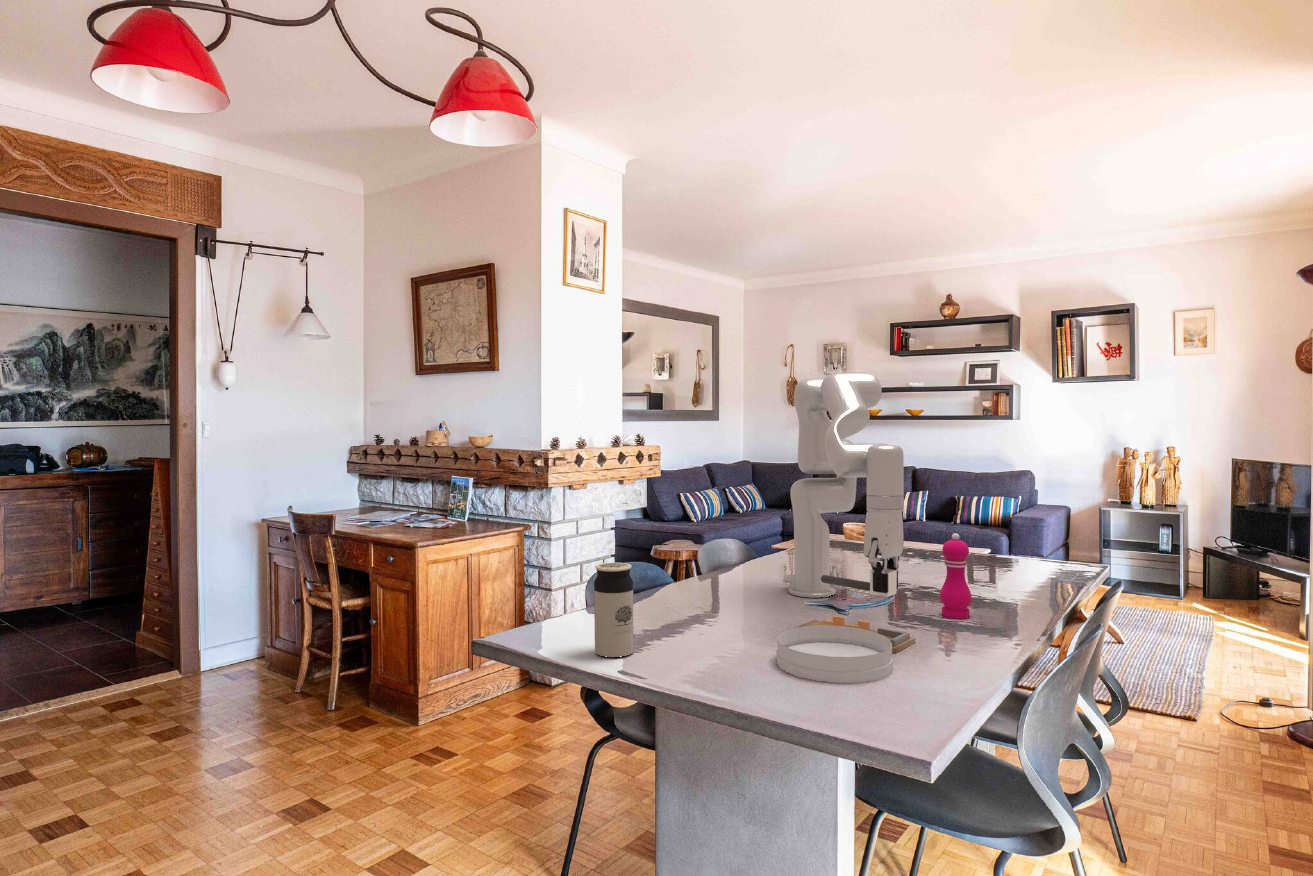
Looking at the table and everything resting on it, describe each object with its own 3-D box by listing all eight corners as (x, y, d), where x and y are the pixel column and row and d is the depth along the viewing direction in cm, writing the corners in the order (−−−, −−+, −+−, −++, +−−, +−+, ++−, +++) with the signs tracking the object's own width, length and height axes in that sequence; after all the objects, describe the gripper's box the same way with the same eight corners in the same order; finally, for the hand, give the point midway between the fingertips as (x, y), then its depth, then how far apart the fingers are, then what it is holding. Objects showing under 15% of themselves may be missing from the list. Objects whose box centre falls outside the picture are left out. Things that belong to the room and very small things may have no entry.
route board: (792, 633, 171) (792, 628, 171) (814, 623, 179) (814, 619, 179) (895, 653, 155) (895, 648, 155) (915, 642, 163) (915, 637, 163)
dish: (818, 642, 165) (817, 619, 165) (914, 665, 149) (914, 639, 149) (753, 666, 149) (752, 640, 149) (853, 693, 133) (853, 665, 133)
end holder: (864, 640, 161) (864, 634, 161) (879, 633, 167) (879, 627, 167) (895, 646, 157) (895, 640, 157) (909, 638, 162) (909, 632, 162)
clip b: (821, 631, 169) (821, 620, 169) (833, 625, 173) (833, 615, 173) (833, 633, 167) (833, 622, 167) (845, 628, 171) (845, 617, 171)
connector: (816, 584, 171) (816, 561, 171) (825, 581, 174) (826, 559, 174) (887, 596, 159) (888, 573, 159) (896, 593, 162) (896, 570, 162)
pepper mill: (966, 612, 188) (966, 531, 188) (975, 619, 181) (975, 535, 181) (936, 611, 189) (936, 531, 189) (944, 619, 182) (944, 535, 181)
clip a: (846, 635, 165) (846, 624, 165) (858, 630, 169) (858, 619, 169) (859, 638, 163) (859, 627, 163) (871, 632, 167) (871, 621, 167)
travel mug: (589, 650, 159) (588, 563, 159) (625, 645, 162) (624, 560, 162) (602, 661, 152) (601, 570, 152) (639, 655, 155) (638, 567, 155)
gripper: (885, 499, 170) (885, 581, 170) (850, 505, 158) (850, 594, 158) (918, 501, 165) (918, 586, 166) (885, 508, 153) (885, 599, 153)
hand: (885, 589), depth 162 cm, fingers closed on connector, 4 cm apart
